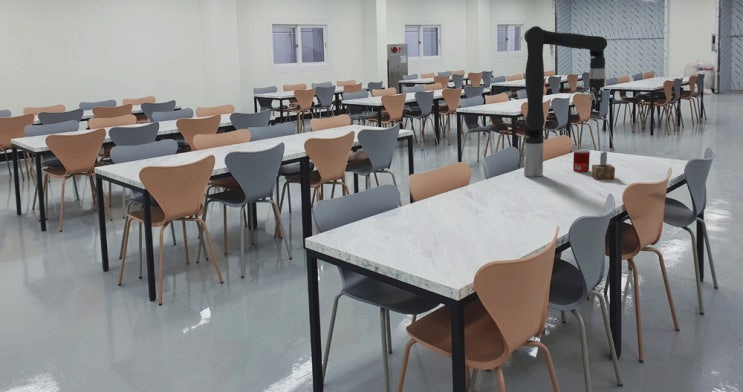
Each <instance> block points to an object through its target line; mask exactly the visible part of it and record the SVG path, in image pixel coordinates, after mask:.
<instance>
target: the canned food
mask: <svg viewBox="0 0 743 392" xmlns="http://www.w3.org/2000/svg"><path fill="white" fill-rule="evenodd" d="M590 155H591V153H590V150H588V149H575V150H573V166H572V167H573V168H572V169H573V172H574V173H575V172H576V173H587V172H589V170H590Z"/></svg>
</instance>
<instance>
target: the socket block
mask: <svg viewBox="0 0 743 392" xmlns="http://www.w3.org/2000/svg"><path fill="white" fill-rule="evenodd" d="M615 171H616V167H615V166H613V165H612V164H607V165H606V167H600V164H591V177H592V178H593V179H594V180H596V181H597V180H598V181H600V180H601V181H605V180H606V181H611V180H613V181H614V180H615V176H616V175H615V174H616V172H615Z"/></svg>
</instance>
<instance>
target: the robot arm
mask: <svg viewBox="0 0 743 392" xmlns="http://www.w3.org/2000/svg"><path fill="white" fill-rule="evenodd" d="M523 38H524V41H525V43H526V48H527V58H526V67H525V74H524V75H525V78H524V79H525V93H526V99H527V111H526V112H527V114H526V115H525V118H524V158H523V175H524V177H530V178H533V177H534V178H536V177H537V178H538V177H542V176H543V175H544V174H543V173H544V139H545V138H544V125H545V114H544V113H545V112H544V102H543V101H544V93H545V92H544V91H545V63H544V46H545V45H551V46H559V47H564V48H571V49H576V50H577V49H579V50H589V57H590V60H589V61H590V62H589V73H588V87H589V88H590V102H591V110H594V111H595V112H600V111H601V103H603V90H602V89H601V88H604V87H605V86H606V85H605V83H606V59H605V58H606V57H605V55H604V54H605V52H604V50H605V49H606V48H607V46H608V41H607V39H606V38H605V37H603V36H598V35H586V34H582V33H573V32H558V31H549V30H546V29H543V28H542V27H540V26H539V25H534V26H530V27H529V28H527V29H526V30H525V32H524V35H523Z"/></svg>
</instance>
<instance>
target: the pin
mask: <svg viewBox="0 0 743 392" xmlns="http://www.w3.org/2000/svg"><path fill="white" fill-rule="evenodd" d="M599 155H600V158H599V160H600V161H599V163H600V164H599V165H600V167H606V165H607V161H608V159H607V158H608V152H607V151H601V152H600V154H599Z"/></svg>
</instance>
